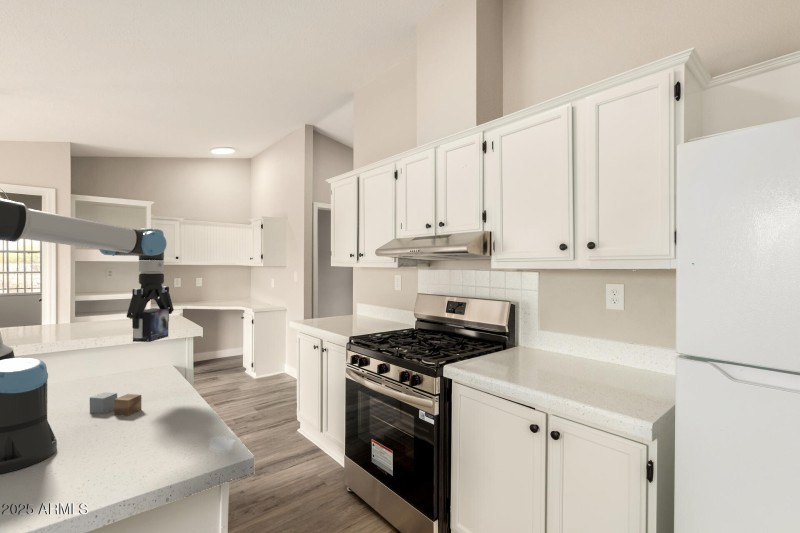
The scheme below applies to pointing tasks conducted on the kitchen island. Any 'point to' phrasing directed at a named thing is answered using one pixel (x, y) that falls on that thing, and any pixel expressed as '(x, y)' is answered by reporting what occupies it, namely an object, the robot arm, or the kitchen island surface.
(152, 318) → the small box
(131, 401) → the walnut block
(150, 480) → the kitchen island surface
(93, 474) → the kitchen island surface
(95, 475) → the kitchen island surface
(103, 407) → the slate-grey block
